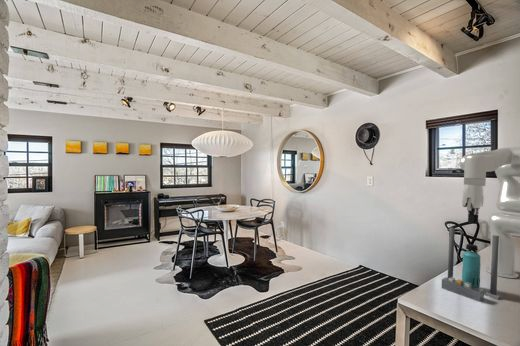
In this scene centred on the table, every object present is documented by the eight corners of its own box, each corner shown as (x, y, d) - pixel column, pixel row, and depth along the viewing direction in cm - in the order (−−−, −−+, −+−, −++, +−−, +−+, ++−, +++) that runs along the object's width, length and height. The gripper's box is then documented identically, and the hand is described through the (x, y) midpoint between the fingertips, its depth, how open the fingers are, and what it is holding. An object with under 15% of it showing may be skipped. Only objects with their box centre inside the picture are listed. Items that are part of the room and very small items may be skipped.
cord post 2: (488, 293, 114) (491, 234, 113) (500, 297, 110) (503, 236, 110) (485, 295, 111) (487, 235, 111) (497, 299, 108) (500, 237, 107)
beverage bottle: (472, 292, 114) (474, 247, 113) (457, 286, 120) (459, 243, 119) (483, 291, 115) (485, 246, 115) (468, 284, 122) (469, 242, 121)
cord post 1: (447, 279, 127) (449, 226, 127) (456, 282, 124) (458, 228, 123) (443, 281, 125) (445, 227, 124) (453, 284, 122) (455, 229, 121)
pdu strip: (445, 285, 120) (446, 274, 120) (483, 299, 108) (484, 287, 108) (441, 287, 118) (441, 276, 118) (479, 301, 106) (480, 289, 106)
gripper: (471, 181, 124) (469, 220, 124) (457, 182, 116) (455, 223, 116) (491, 182, 117) (489, 223, 118) (478, 183, 109) (476, 226, 110)
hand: (472, 223), depth 117 cm, fingers closed
